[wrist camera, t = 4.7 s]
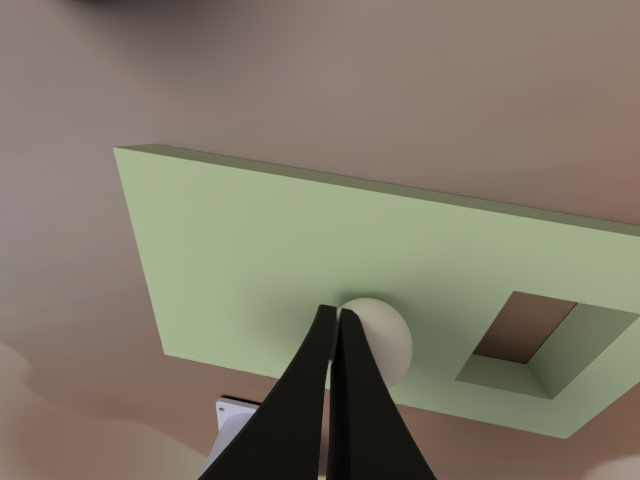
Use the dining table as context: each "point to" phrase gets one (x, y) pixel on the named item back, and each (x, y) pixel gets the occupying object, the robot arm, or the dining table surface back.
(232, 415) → the robot arm
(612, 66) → the dining table surface
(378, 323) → the ball
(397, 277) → the board with rectangular hole
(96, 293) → the dining table surface
